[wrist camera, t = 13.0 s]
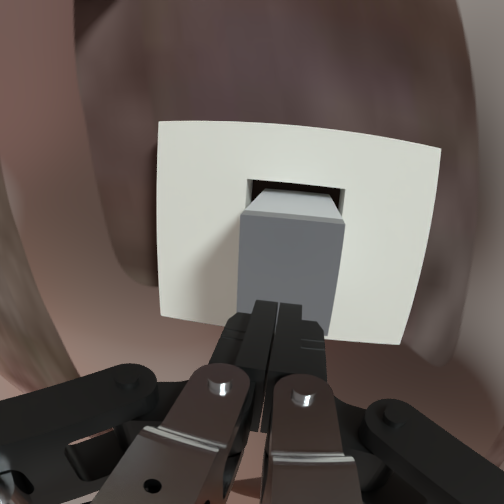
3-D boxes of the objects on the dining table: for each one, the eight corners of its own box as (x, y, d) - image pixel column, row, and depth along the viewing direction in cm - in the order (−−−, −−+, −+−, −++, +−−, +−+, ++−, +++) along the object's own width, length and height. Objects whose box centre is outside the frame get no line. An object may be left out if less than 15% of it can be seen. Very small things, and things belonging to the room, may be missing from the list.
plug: (329, 194, 21) (345, 224, 13) (320, 268, 23) (327, 336, 15) (265, 188, 22) (240, 214, 14) (260, 262, 24) (235, 326, 15)
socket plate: (427, 148, 19) (441, 148, 17) (392, 327, 24) (399, 344, 21) (173, 123, 21) (158, 121, 19) (172, 301, 26) (160, 315, 24)
